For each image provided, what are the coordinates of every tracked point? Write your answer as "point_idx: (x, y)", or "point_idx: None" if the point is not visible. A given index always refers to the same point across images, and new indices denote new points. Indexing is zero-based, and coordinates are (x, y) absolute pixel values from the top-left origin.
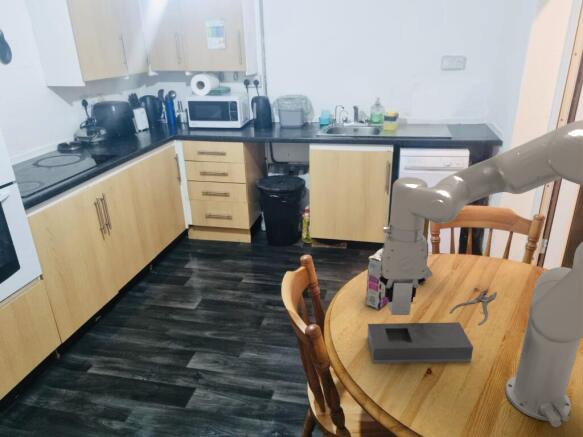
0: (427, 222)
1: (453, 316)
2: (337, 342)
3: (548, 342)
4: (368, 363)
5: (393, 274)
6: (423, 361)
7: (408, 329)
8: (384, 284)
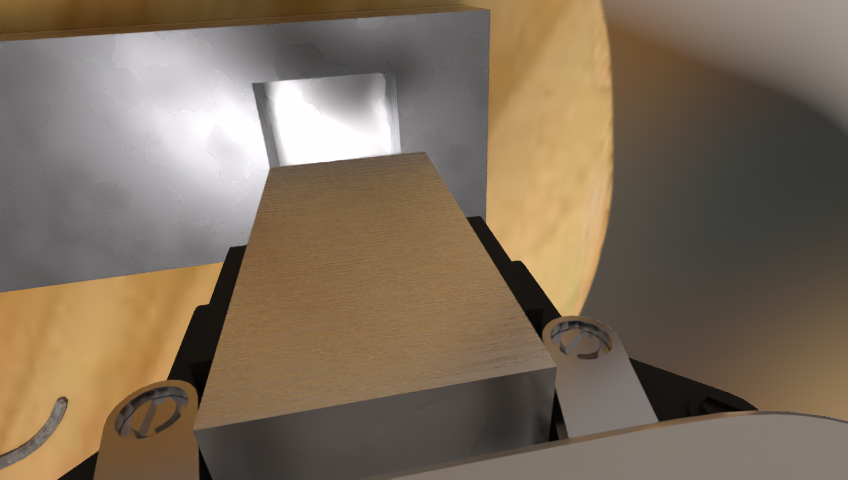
0: None
1: (48, 380)
2: (593, 148)
3: None
4: (483, 4)
5: None
6: (194, 22)
7: None
8: (631, 360)
